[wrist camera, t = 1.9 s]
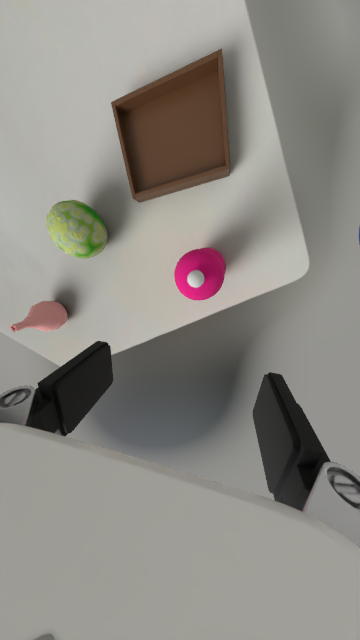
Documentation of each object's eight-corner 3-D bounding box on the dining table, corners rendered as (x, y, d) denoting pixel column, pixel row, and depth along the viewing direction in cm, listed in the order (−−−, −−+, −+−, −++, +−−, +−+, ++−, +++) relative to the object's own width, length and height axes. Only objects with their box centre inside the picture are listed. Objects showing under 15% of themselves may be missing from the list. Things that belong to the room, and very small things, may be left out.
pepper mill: (217, 242, 33) (217, 225, 15) (229, 277, 35) (242, 300, 17) (184, 258, 36) (148, 260, 17) (197, 290, 37) (177, 323, 19)
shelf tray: (221, 69, 25) (221, 48, 23) (229, 176, 29) (230, 168, 27) (120, 115, 30) (110, 102, 27) (139, 202, 34) (132, 198, 31)
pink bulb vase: (45, 311, 48) (-6, 327, 37) (54, 292, 45) (2, 303, 34) (66, 329, 49) (22, 350, 38) (77, 311, 46) (33, 329, 35)
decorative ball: (76, 251, 40) (34, 250, 31) (77, 202, 36) (29, 184, 27) (114, 263, 39) (82, 265, 30) (119, 214, 35) (84, 200, 26)
